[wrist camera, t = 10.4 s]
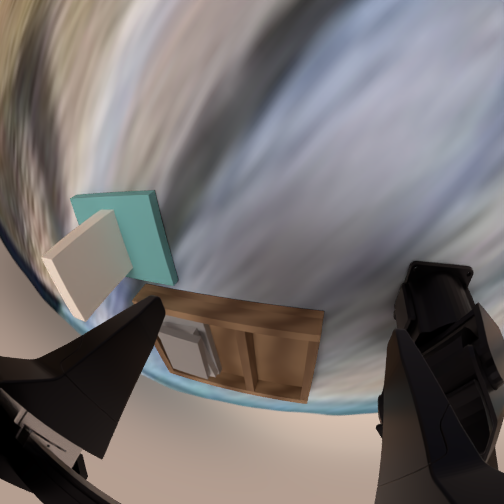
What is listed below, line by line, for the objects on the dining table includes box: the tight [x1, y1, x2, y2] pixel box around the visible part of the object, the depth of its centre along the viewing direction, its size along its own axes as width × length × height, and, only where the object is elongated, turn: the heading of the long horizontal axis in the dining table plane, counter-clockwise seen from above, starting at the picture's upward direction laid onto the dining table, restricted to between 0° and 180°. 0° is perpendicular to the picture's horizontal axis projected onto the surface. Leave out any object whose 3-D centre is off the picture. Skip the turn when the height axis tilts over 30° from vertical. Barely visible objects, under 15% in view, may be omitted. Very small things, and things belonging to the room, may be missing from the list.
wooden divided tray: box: [132, 284, 324, 404], centre depth 30 cm, size 20×15×3 cm
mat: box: [70, 190, 178, 286], centre depth 26 cm, size 12×10×1 cm
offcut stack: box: [158, 315, 222, 379], centre depth 31 cm, size 6×11×3 cm, turn 5°
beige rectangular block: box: [41, 210, 133, 322], centre depth 22 cm, size 2×7×8 cm, turn 4°
